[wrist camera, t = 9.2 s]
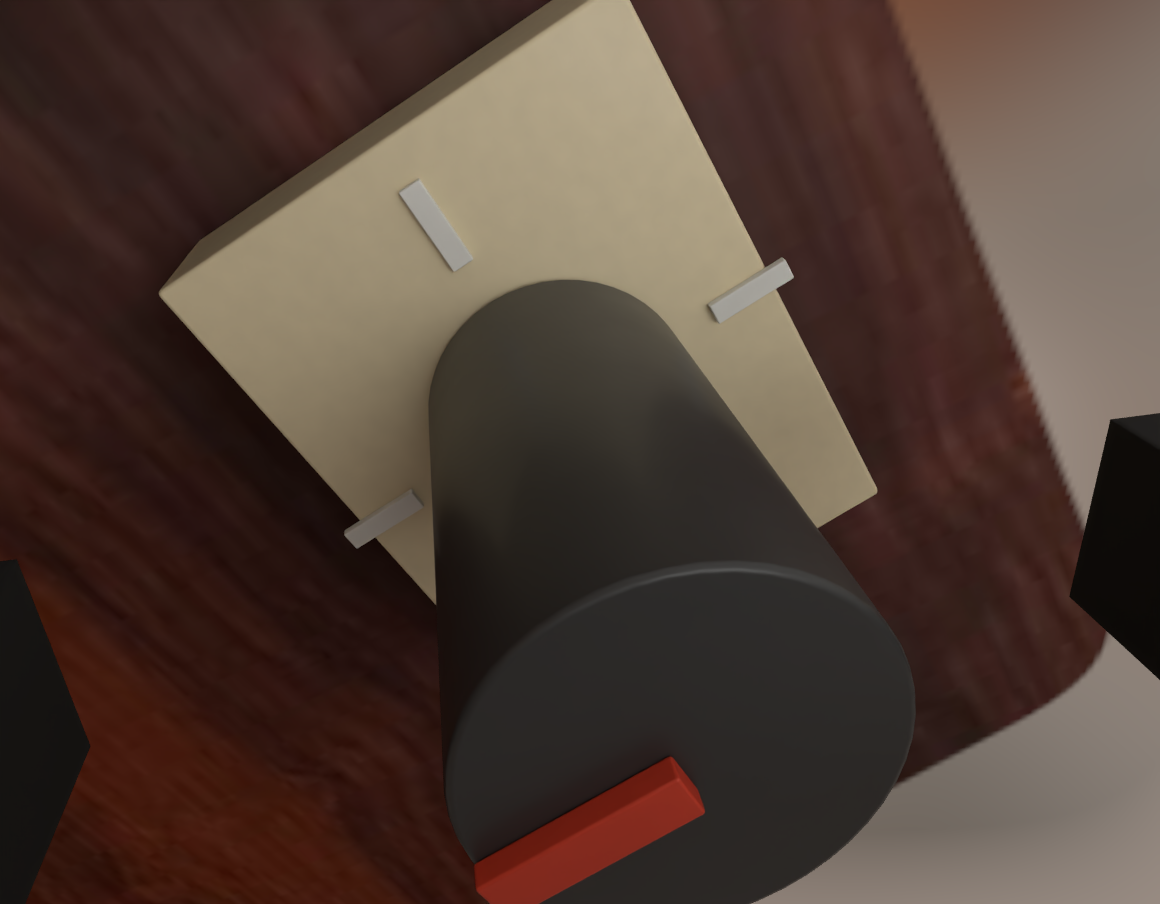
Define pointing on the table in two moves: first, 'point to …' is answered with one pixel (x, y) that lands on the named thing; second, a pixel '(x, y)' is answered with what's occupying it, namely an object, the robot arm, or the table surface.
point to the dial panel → (500, 266)
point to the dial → (638, 624)
